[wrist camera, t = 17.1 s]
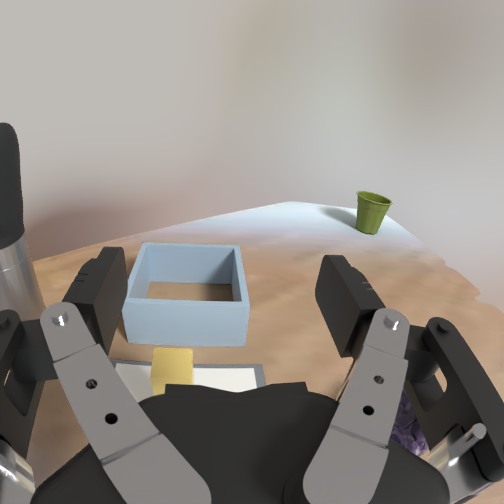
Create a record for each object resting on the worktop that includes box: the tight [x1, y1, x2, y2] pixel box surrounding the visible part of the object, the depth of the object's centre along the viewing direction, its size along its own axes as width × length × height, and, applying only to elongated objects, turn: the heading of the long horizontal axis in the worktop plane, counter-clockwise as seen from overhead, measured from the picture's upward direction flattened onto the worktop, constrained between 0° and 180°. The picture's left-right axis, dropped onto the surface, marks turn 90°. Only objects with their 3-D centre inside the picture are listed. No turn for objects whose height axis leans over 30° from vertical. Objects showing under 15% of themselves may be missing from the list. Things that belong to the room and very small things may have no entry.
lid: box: [115, 347, 257, 403], centre depth 28 cm, size 19×19×13 cm
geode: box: [390, 388, 429, 456], centre depth 27 cm, size 20×12×10 cm, turn 120°
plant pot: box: [356, 191, 392, 234], centre depth 91 cm, size 12×12×11 cm
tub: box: [122, 243, 250, 347], centre depth 50 cm, size 18×18×8 cm
